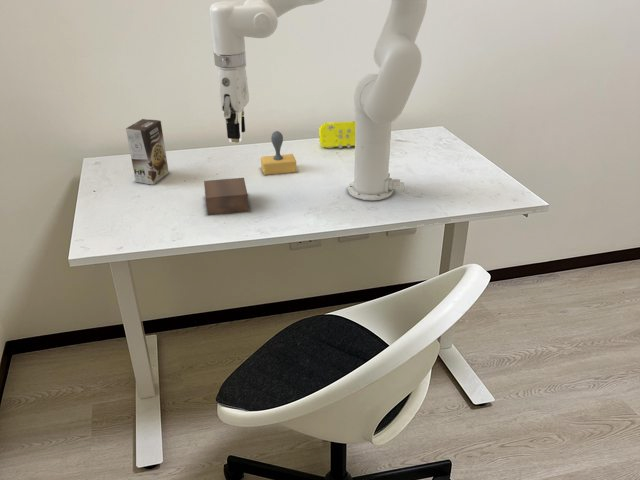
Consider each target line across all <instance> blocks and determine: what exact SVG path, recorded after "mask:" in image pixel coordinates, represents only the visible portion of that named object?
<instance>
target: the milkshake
mask: <svg viewBox="0 0 640 480" xmlns="http://www.w3.org/2000/svg"><path fill="white" fill-rule="evenodd" d="M231 110H234V109H233V108H231ZM231 115H233V116H234V113H231ZM237 115H238V123H239V127H240V139H229V138H228V142H229V143H231V144H237V143H238V144H240V143H241V142H243V140H242V139H243V138H242V137H243V136H242V133H243V132H242V126H241V124H242V110H241V111H240V112H237ZM224 119H225V121H226V118H225V117H224Z"/></svg>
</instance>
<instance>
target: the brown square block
mask: <svg viewBox="0 0 640 480" xmlns="http://www.w3.org/2000/svg"><path fill="white" fill-rule="evenodd" d="M203 183H204V184H203V185H204V198H205V205H206V212H207V213H206V214H207V216H211V215H222V214H224V215H225V214H234V213H246V212H250V207H249V205H250V204H249V194H248V190H247V185H246V181H245V178H244V177H235V178H234V177H233V178H222V179H210V180H208V179H207V180H203Z"/></svg>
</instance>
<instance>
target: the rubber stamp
mask: <svg viewBox="0 0 640 480" xmlns="http://www.w3.org/2000/svg"><path fill="white" fill-rule="evenodd" d="M270 137H271V140H270V141H271V143H272V146H273V148H274V151H275V155H266V156H265V155H264V156H261V157H260V168H261V171H262V173H263V176H269V175H280V174H288V173H289V174H290V173H297V172H298V171H297V159H296V157H295V156H294V154H292V153H287V154H281V149H282V146H283V141H284V136H283V133H282V132H280V131H278V130H275V131H274V132H272V134H271V136H270Z"/></svg>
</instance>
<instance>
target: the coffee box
mask: <svg viewBox="0 0 640 480" xmlns="http://www.w3.org/2000/svg"><path fill="white" fill-rule="evenodd" d="M125 133H126V137H127V142H128V148H129V153H130V159H131V164H132V169H133V176H134V181H135V183H139V184H147V185H155V184H156V183H158V182H159V181H160V180H162V179H164V177H166V176H167V175H169V174H170V171H169V165H168V158H167V152H166V146H165V138H164V134H163V133H164V132H163V125H162V121H161V120H159V119H147V118H142V119H139V120H138V121H136V122H135V123H133V124H131V125H129V126H128V127H125Z"/></svg>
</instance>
